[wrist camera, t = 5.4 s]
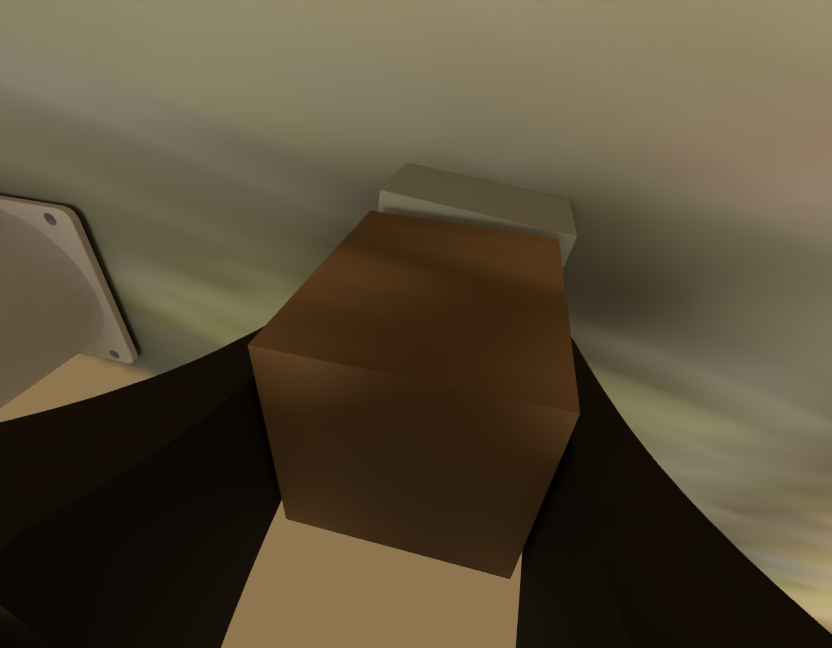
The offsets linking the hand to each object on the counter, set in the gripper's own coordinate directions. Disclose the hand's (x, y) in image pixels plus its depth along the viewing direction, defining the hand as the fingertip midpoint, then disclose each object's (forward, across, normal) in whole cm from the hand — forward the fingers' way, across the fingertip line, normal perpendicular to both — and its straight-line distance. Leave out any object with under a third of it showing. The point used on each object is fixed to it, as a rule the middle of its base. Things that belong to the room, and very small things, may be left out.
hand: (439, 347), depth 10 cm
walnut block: (+2, 0, 0) cm, 2 cm away
